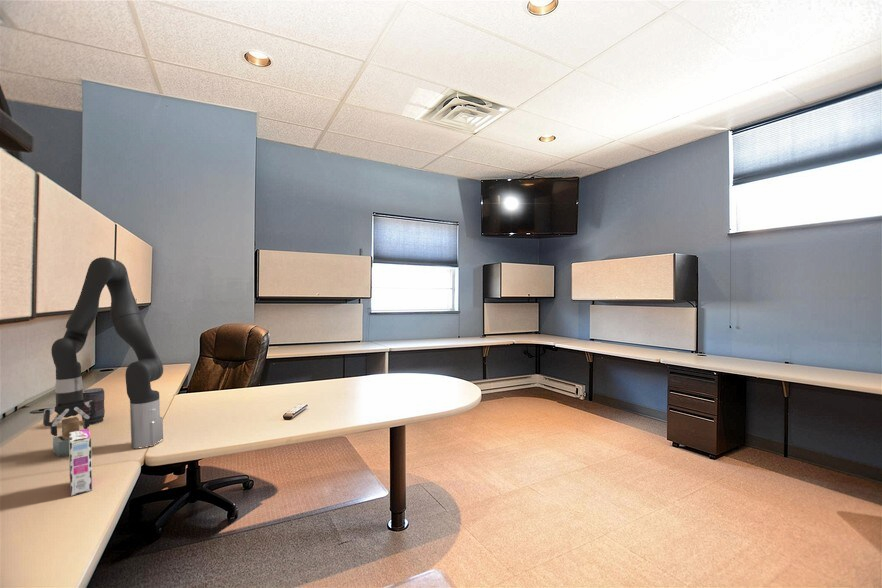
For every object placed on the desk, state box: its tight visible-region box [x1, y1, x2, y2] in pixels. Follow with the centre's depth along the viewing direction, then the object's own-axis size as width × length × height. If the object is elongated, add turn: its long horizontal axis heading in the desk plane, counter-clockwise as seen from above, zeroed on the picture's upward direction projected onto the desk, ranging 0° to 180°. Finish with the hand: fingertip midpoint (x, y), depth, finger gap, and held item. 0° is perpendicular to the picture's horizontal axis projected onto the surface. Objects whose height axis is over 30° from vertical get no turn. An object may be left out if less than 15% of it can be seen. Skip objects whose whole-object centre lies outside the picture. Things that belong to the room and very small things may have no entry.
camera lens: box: [81, 387, 106, 426], centre depth 180 cm, size 8×8×15 cm
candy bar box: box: [68, 428, 93, 497], centre depth 120 cm, size 11×5×16 cm, turn 45°
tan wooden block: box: [61, 416, 80, 441], centre depth 148 cm, size 4×4×11 cm
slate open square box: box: [52, 435, 69, 458], centre depth 148 cm, size 8×8×6 cm
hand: (70, 432), depth 148 cm, fingers open, 8 cm apart
